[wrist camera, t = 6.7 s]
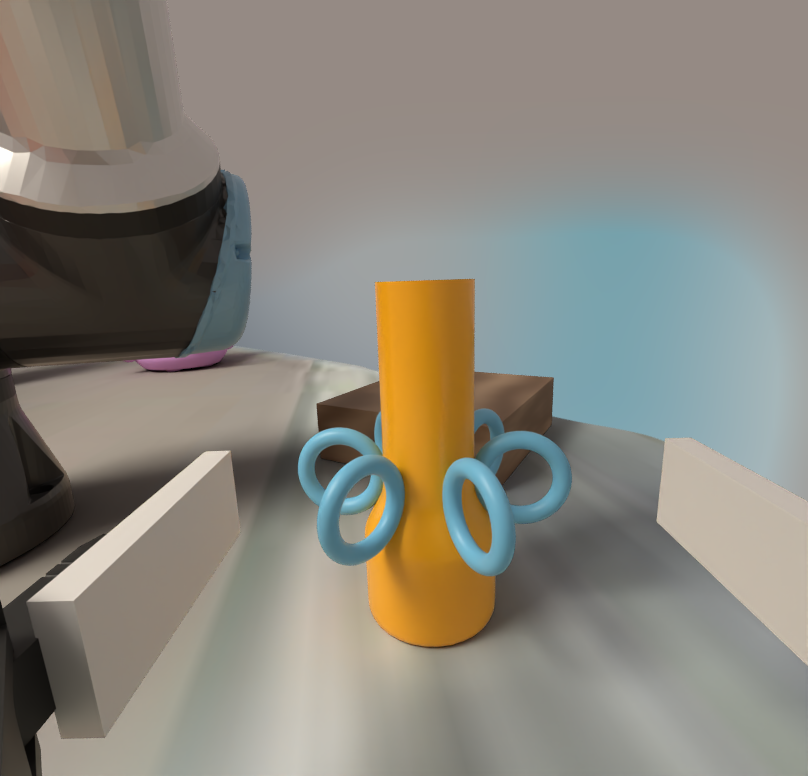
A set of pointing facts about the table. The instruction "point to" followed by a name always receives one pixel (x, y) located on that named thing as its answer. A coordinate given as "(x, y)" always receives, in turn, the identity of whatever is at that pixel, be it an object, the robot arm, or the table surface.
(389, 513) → the orange blue tall piece
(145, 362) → the teapot
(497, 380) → the walnut block
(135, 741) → the table surface
